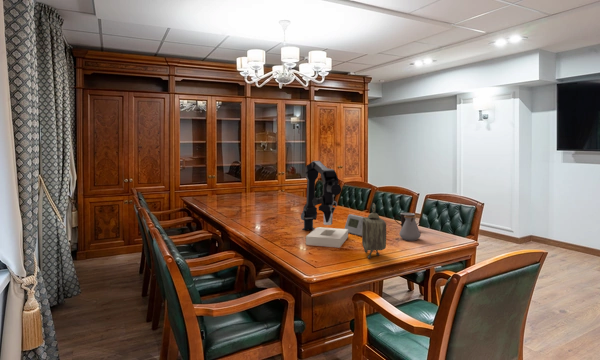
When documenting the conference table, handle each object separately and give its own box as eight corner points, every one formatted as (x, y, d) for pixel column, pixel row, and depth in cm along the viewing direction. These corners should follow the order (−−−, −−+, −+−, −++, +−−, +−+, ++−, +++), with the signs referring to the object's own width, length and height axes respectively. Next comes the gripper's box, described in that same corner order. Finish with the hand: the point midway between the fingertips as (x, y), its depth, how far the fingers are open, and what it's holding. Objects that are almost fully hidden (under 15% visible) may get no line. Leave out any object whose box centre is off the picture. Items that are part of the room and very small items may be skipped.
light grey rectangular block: (325, 223, 207) (325, 212, 206) (332, 223, 206) (332, 212, 205) (323, 224, 203) (323, 213, 203) (330, 225, 202) (330, 214, 201)
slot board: (317, 234, 219) (317, 227, 219) (348, 237, 214) (348, 229, 214) (305, 244, 197) (305, 236, 196) (339, 247, 191) (339, 238, 191)
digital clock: (342, 231, 229) (343, 214, 228) (355, 230, 232) (356, 213, 231) (356, 237, 214) (356, 218, 213) (370, 236, 217) (370, 217, 216)
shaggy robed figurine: (361, 251, 185) (362, 200, 182) (380, 251, 184) (381, 201, 182) (366, 260, 170) (367, 205, 168) (386, 260, 170) (387, 205, 168)
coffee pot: (398, 236, 216) (399, 210, 215) (419, 237, 214) (420, 211, 213) (400, 245, 196) (401, 217, 194) (423, 247, 193) (424, 218, 192)
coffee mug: (416, 229, 235) (416, 213, 234) (412, 231, 228) (412, 215, 227) (397, 227, 241) (398, 211, 240) (393, 229, 234) (393, 213, 233)
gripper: (318, 190, 214) (318, 217, 216) (309, 194, 197) (309, 223, 198) (337, 191, 211) (337, 218, 212) (330, 195, 193) (329, 225, 195)
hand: (328, 221), depth 204 cm, fingers closed on light grey rectangular block, 4 cm apart
